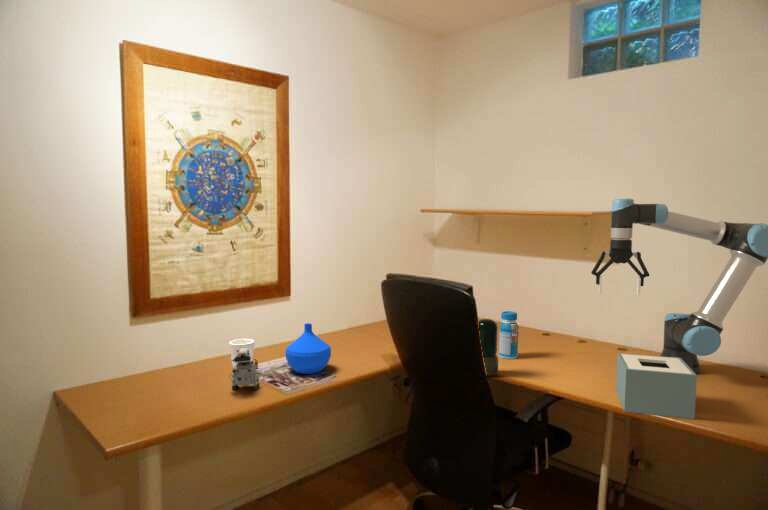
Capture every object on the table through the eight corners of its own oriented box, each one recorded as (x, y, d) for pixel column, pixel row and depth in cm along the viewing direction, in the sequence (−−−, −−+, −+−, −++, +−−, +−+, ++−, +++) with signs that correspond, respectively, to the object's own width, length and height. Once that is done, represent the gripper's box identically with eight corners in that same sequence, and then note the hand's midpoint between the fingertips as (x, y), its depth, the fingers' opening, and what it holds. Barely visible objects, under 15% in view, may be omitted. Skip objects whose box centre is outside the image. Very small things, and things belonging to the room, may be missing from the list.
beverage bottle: (498, 358, 224) (499, 313, 223) (498, 353, 232) (499, 310, 231) (518, 360, 222) (519, 314, 221) (517, 354, 230) (519, 311, 229)
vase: (337, 365, 213) (337, 320, 212) (320, 379, 196) (320, 330, 194) (297, 362, 218) (297, 318, 217) (277, 375, 201) (276, 327, 199)
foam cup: (229, 378, 197) (228, 345, 196) (230, 371, 206) (229, 339, 205) (255, 376, 199) (254, 343, 198) (254, 369, 208) (253, 338, 207)
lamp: (502, 373, 204) (503, 319, 202) (490, 379, 197) (491, 322, 195) (481, 368, 210) (482, 315, 209) (469, 373, 203) (469, 319, 201)
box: (678, 397, 178) (680, 357, 177) (694, 419, 159) (696, 375, 158) (616, 390, 184) (617, 352, 183) (624, 411, 165) (626, 369, 164)
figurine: (226, 395, 179) (224, 353, 177) (237, 384, 190) (236, 345, 189) (251, 396, 178) (250, 354, 177) (261, 385, 189) (260, 345, 188)
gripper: (655, 239, 196) (652, 293, 198) (585, 238, 203) (583, 290, 205) (659, 240, 189) (656, 296, 190) (587, 239, 196) (585, 293, 198)
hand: (618, 293), depth 198 cm, fingers open, 13 cm apart
